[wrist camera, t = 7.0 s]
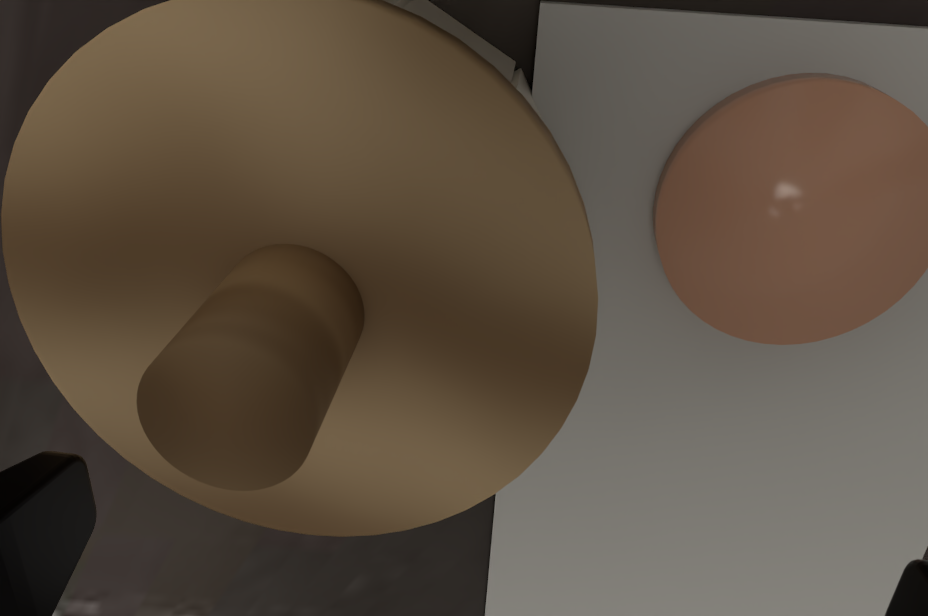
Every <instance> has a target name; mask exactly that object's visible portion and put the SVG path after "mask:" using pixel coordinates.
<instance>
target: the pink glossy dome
mask: <svg viewBox="0 0 928 616" xmlns="http://www.w3.org/2000/svg"><path fill="white" fill-rule="evenodd" d="M653 229H654V235H655V241H656V245H657V248H658V252H659V255H660V259H661V262H662V265H663V269H664V272H665V274H666V276H667V278H668V280H669V283H670V285H671V287H672V288H673V290H674V291H675V293H676V294H677V296H678V297H679V298H680V300H681V301H682V302H683V303H684V304H685V305H686V306H687V307H688V309H689V310H690V311H691V312H693V313H694V314H695V315H696V316H697V317H699V318H700V319H701V320H702V321H704V322H705V323H707V324H709V325H710V326H712V327H714V328H715V329H717V330H719V331H721V332H724V333H726V334H728V335H730V336H733V337H736V338H740V339H743V340H746V341H751V342H756V343H762V344H774V345H792V344H803V343H810V342H817V341H821V340H824V339H828V338H832V337H835V336H838V335H841V334H844V333H846V332H849V331H852V330H854V329H856V328H858V327H860V326H862V325H864V324H866V323H868V322H870V321H871V320H873V319H874V318H876V317H877V316H879V315H881V314H882V313H884V312H885V311H887V310H888V309H889V308H890V307H892V306H893V305H894V304H895V303H897V302H898V301H899V300H900V299H901V298H902V297H903V296H904V295H905V294H906V293H907V292H908V291H909V290H910V289H911V288H912V287H913V286H914V285H915V284H916V283H917V281H918V280H919V279H920V278H921V277H922V275H923V274H924V273H925V271H926V270H927V268H928V127H927V125H926V124H925V123H924V122H923V121H922V120H921V119H920V118H919V117H918V116H917V115H916V114H915V113H914V112H913V111H911V110H910V109H908V108H907V107H906V106H904V105H903V104H901V103H900V102H899V101H897V100H895V99H894V98H892V97H890V96H889V95H887V94H885V93H884V92H882V91H880V90H878V89H876V88H874V87H872V86H870V85H868V84H866V83H864V82H861V81H858V80H855V79H852V78H849V77H846V76H840V75H834V74H828V73H799V74H788V75H784V76H779V77H774V78H770V79H767V80H764V81H761V82H758V83H755V84H752V85H749V86H747V87H745V88H743V89H741V90H739V91H737V92H735V93H733V94H731V95H730V96H728V97H726V98H725V99H723V100H722V101H720V102H719V103H717V104H716V105H714V106H713V107H712V108H711V109H709V110H708V111H707V112H706V113H704V114H703V115H702V116H701V117H700V118H699V119H698V120H697V121H696V122H695V123H694V124H693V125H692V126H691V127H690V128H689V129H688V130H687V131H686V132H685V134H684V135H683V136H682V138H681V139H680V140H679V142H678V143H677V144H676V146H675V147H674V149H673V151H672V152H671V154H670V156H669V158H668V159H667V161H666V163H665V166H664V168H663V170H662V173H661V175H660V178H659V181H658V185H657V189H656V192H655V198H654V206H653Z"/></svg>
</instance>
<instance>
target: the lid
mask: <svg viewBox="0 0 928 616" xmlns="http://www.w3.org/2000/svg"><path fill="white" fill-rule="evenodd" d="M1 224H2V246H3V255H4V260H5V266H6V271H7V277H8V282H9V287H10V290H11V293H12V296H13V299H14V302H15V305H16V309H17V312H18V315H19V318H20V320H21V323H22V325H23V327H24V329H25V331H26V334H27V336H28V338H29V340H30V342H31V344H32V347H33V349H34V351H35V353H36V354H37V356H38V358H39V359H40V361H41V363H42V364H43V366H44V368H45V369H46V371H47V373H48V374H49V376H50V378H51V379H52V381H53V382H54V384H55V385H56V386H57V388H58V389H59V390H60V392H61V393H62V394H63V396H64V397H65V398H66V399H67V401H68V402H69V403H70V405H71V406H72V407H73V409H74V410H75V411H76V412H77V413H78V414H79V415H80V416H81V417H82V418H83V420H84V421H85V422H86V423H87V424H88V425H89V426H90V427H91V428H92V429H93V430H94V431H95V432H96V433H97V435H99V436H100V437H101V438H102V439H103V440H104V441H105V442H106V443H108V444H109V445H110V446H111V447H112V448H113V449H114V450H116V451H117V452H118V453H119V454H120V455H121V456H122V457H124V458H125V459H126V460H128V461H129V462H130V463H132V464H133V465H135V466H136V467H137V468H139V469H140V470H141V471H143V472H144V473H146V474H147V475H148V476H150V477H151V478H153V479H154V480H156V481H158V482H159V483H161V484H163V485H165V486H166V487H168V488H170V489H171V490H173V491H175V492H176V493H178V494H180V495H182V496H184V497H186V498H188V499H190V500H192V501H194V502H196V503H199V504H201V505H203V506H205V507H207V508H209V509H211V510H214V511H217V512H219V513H222V514H225V515H228V516H231V517H233V518H236V519H239V520H242V521H244V522H248V523H252V524H256V525H260V526H264V527H268V528H272V529H276V530H282V531H288V532H294V533H301V534H307V535H322V536H340V537H345V536H366V535H378V534H385V533H391V532H398V531H404V530H409V529H412V528H416V527H420V526H423V525H427V524H431V523H434V522H438V521H440V520H443V519H445V518H448V517H450V516H453V515H455V514H458V513H460V512H463V511H465V510H467V509H469V508H471V507H473V506H474V505H476V504H478V503H480V502H482V501H483V500H485V499H487V498H489V497H491V496H492V495H494V494H495V493H497V492H498V491H499V490H501V489H502V488H503V487H505V486H506V485H508V484H509V483H510V482H512V481H513V480H514V479H516V478H517V477H518V476H520V475H521V474H522V473H523V472H524V471H525V470H526V469H527V468H528V467H529V466H530V465H531V464H532V463H533V462H534V461H535V460H536V459H537V458H538V457H539V456H540V455H541V454H542V453H543V451H544V450H545V449H546V448H547V446H548V445H549V444H550V442H551V441H552V440H553V439H554V437H555V436H556V435H557V433H558V432H559V431H560V429H561V428H562V426H563V424H564V423H565V421H566V419H567V417H568V415H569V414H570V412H571V410H572V408H573V406H574V405H575V403H576V401H577V399H578V396H579V394H580V391H581V388H582V386H583V383H584V380H585V378H586V375H587V372H588V370H589V366H590V361H591V357H592V352H593V347H594V342H595V338H596V329H597V312H598V290H597V279H596V267H595V257H594V248H593V239H592V235H591V231H590V227H589V222H588V218H587V214H586V210H585V205H584V202H583V199H582V197H581V194H580V191H579V189H578V186H577V184H576V181H575V179H574V176H573V174H572V171H571V168H570V166H569V164H568V162H567V161H566V159H565V157H564V155H563V153H562V152H561V150H560V148H559V146H558V144H557V143H556V141H555V139H554V137H553V135H552V134H551V132H550V130H549V129H548V128H547V126H546V125H545V124H544V122H543V121H542V120H541V118H540V117H539V116H538V114H537V113H536V112H535V110H534V109H533V108H532V106H531V105H530V104H529V102H528V101H527V100H526V98H525V97H524V96H523V95H522V94H521V93H520V92H519V91H518V90H517V89H516V88H515V87H514V86H513V85H512V84H511V83H510V82H509V81H508V80H507V79H506V78H505V77H504V76H503V75H502V74H501V73H500V72H499V71H498V69H497V68H496V67H495V66H493V65H492V64H491V63H490V62H488V61H487V60H486V59H484V58H483V57H482V56H481V55H479V54H478V53H477V52H475V51H474V50H473V49H472V48H470V47H469V46H468V45H467V44H465V43H464V42H463V41H461V40H460V39H459V38H457V37H455V36H454V35H452V34H450V33H448V32H447V31H445V30H443V29H442V28H440V27H438V26H437V25H435V24H433V23H431V22H430V21H428V20H426V19H425V18H423V17H421V16H419V15H417V14H414V13H412V12H410V11H407V10H405V9H403V8H400V7H398V6H395V5H393V4H391V3H388V2H386V1H384V0H170V1H167V2H164V3H161V4H158V5H155V6H152V7H149V8H146V9H143V10H141V11H139V12H137V13H135V14H133V15H131V16H129V17H128V18H126V19H124V20H122V21H120V22H118V23H116V24H114V25H112V26H110V27H108V28H107V29H105V30H104V31H103V32H101V33H100V34H99V35H97V36H96V37H95V38H93V39H92V40H91V41H89V42H88V43H87V44H85V45H84V46H83V47H82V48H80V49H79V50H78V51H76V52H75V53H74V54H73V55H72V56H71V57H70V58H69V59H68V61H67V62H66V63H65V64H64V65H63V66H62V67H61V68H60V69H59V70H58V71H57V72H56V73H55V74H54V75H53V77H52V78H51V79H50V80H49V81H48V83H47V84H46V86H45V87H44V89H43V90H42V92H41V93H40V95H39V96H38V98H37V99H36V101H35V102H34V104H33V105H32V107H31V108H30V110H29V111H28V114H27V116H26V118H25V120H24V123H23V125H22V127H21V129H20V132H19V134H18V136H17V138H16V141H15V143H14V146H13V150H12V153H11V157H10V161H9V165H8V169H7V173H6V176H5V182H4V191H3V201H2V211H1Z"/></svg>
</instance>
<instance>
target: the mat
mask: <svg viewBox="0 0 928 616" xmlns="http://www.w3.org/2000/svg"><path fill="white" fill-rule="evenodd" d="M799 73H828V74H834V75H840V76H846V77H849V78H852V79H855V80H858V81H861V82H864V83H866V84H868V85H870V86H872V87H874V88H876V89H878V90H880V91H882V92H884V93H885V94H887V95H889V96H890V97H892V98H894V99H895V100H897V101H899V102H900V103H901V104H903V105H904V106H906V107H907V108H908V109H910V110H911V111H913V112H914V113H915V114H916V115H917V116H918V117H919V118H920V119H921V120H922V121H923V122H924V123H925V124H926V125H927V127H928V26H913V25H898V24H883V23H868V22H853V21H838V20H823V19H808V18H793V17H778V16H763V15H748V14H733V13H718V12H703V11H688V10H673V9H658V8H643V7H628V6H613V5H598V4H583V3H568V2H553V1H540V11H539V22H538V33H537V44H536V55H535V66H534V77H533V88H532V98H533V100H534V102H535V104H536V107H537V109H538V111H539V113H540V115H541V117H542V120H543V122H544V124H545V125H546V126H547V128H548V129H549V130H550V132H551V134H552V135H553V137H554V139H555V141H556V143H557V144H558V146H559V148H560V150H561V152H562V153H563V155H564V157H565V159H566V161H567V162H568V164H569V166H570V168H571V171H572V174H573V176H574V179H575V181H576V184H577V186H578V189H579V191H580V194H581V197H582V199H583V202H584V205H585V210H586V214H587V218H588V222H589V227H590V231H591V235H592V239H593V248H594V257H595V267H596V279H597V290H598V312H597V329H596V338H595V342H594V347H593V352H592V357H591V361H590V366H589V370H588V372H587V375H586V378H585V380H584V383H583V386H582V388H581V391H580V394H579V396H578V399H577V401H576V403H575V405H574V406H573V408H572V410H571V412H570V414H569V415H568V417H567V419H566V421H565V423H564V424H563V426H562V428H561V429H560V431H559V432H558V433H557V435H556V436H555V437H554V439H553V440H552V441H551V442H550V444H549V445H548V446H547V448H546V449H545V450H544V451H543V453H542V454H541V455H540V456H539V457H538V458H537V459H536V460H535V461H534V462H533V463H532V464H531V465H530V466H529V467H528V468H527V469H526V470H525V471H524V472H523V473H522V474H521V475H520V476H518V477H517V478H516V479H514V480H513V481H512V482H510V483H509V484H508V485H506V486H505V487H503V488H502V489H501V490H499V491H498V492H497V493H496V497H495V508H494V520H493V531H492V542H491V553H490V564H489V575H488V586H487V597H486V608H485V616H885V613H886V610H887V608H888V605H889V603H890V601H891V598H892V596H893V594H894V591H895V589H896V587H897V584H898V582H899V580H900V577H901V575H902V573H903V570H904V569H905V567H906V565H907V564H908V563H909V562H910V561H912V560H916V559H922V558H923V556H924V553H925V551H926V549H927V546H928V268H927V270H926V271H925V273H924V274H923V275H922V277H921V278H920V279H919V280H918V281H917V283H916V284H915V285H914V286H913V287H912V288H911V289H910V290H909V291H908V292H907V293H906V294H905V295H904V296H903V297H902V298H901V299H900V300H899V301H898V302H897V303H895V304H894V305H893V306H892V307H890V308H889V309H888V310H887V311H885V312H884V313H882V314H881V315H879V316H877V317H876V318H874V319H873V320H871V321H870V322H868V323H866V324H864V325H862V326H860V327H858V328H856V329H854V330H852V331H849V332H846V333H844V334H841V335H838V336H835V337H832V338H828V339H824V340H821V341H817V342H810V343H803V344H792V345H774V344H762V343H756V342H751V341H746V340H743V339H740V338H736V337H733V336H730V335H728V334H726V333H724V332H721V331H719V330H717V329H715V328H714V327H712V326H710V325H709V324H707V323H705V322H704V321H702V320H701V319H700V318H699V317H697V316H696V315H695V314H694V313H693V312H691V311H690V310H689V309H688V307H687V306H686V305H685V304H684V303H683V302H682V301H681V300H680V298H679V297H678V296H677V294H676V293H675V291H674V290H673V288H672V287H671V285H670V283H669V280H668V278H667V276H666V274H665V272H664V269H663V265H662V262H661V259H660V255H659V252H658V248H657V245H656V241H655V235H654V229H653V206H654V198H655V192H656V189H657V185H658V181H659V178H660V175H661V173H662V170H663V168H664V166H665V163H666V161H667V159H668V158H669V156H670V154H671V152H672V151H673V149H674V147H675V146H676V144H677V143H678V142H679V140H680V139H681V138H682V136H683V135H684V134H685V132H686V131H687V130H688V129H689V128H690V127H691V126H692V125H693V124H694V123H695V122H696V121H697V120H698V119H699V118H700V117H701V116H702V115H703V114H704V113H706V112H707V111H708V110H709V109H711V108H712V107H713V106H714V105H716V104H717V103H719V102H720V101H722V100H723V99H725V98H726V97H728V96H730V95H731V94H733V93H735V92H737V91H739V90H741V89H743V88H745V87H747V86H749V85H752V84H755V83H758V82H761V81H764V80H767V79H770V78H774V77H779V76H784V75H788V74H799Z"/></svg>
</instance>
